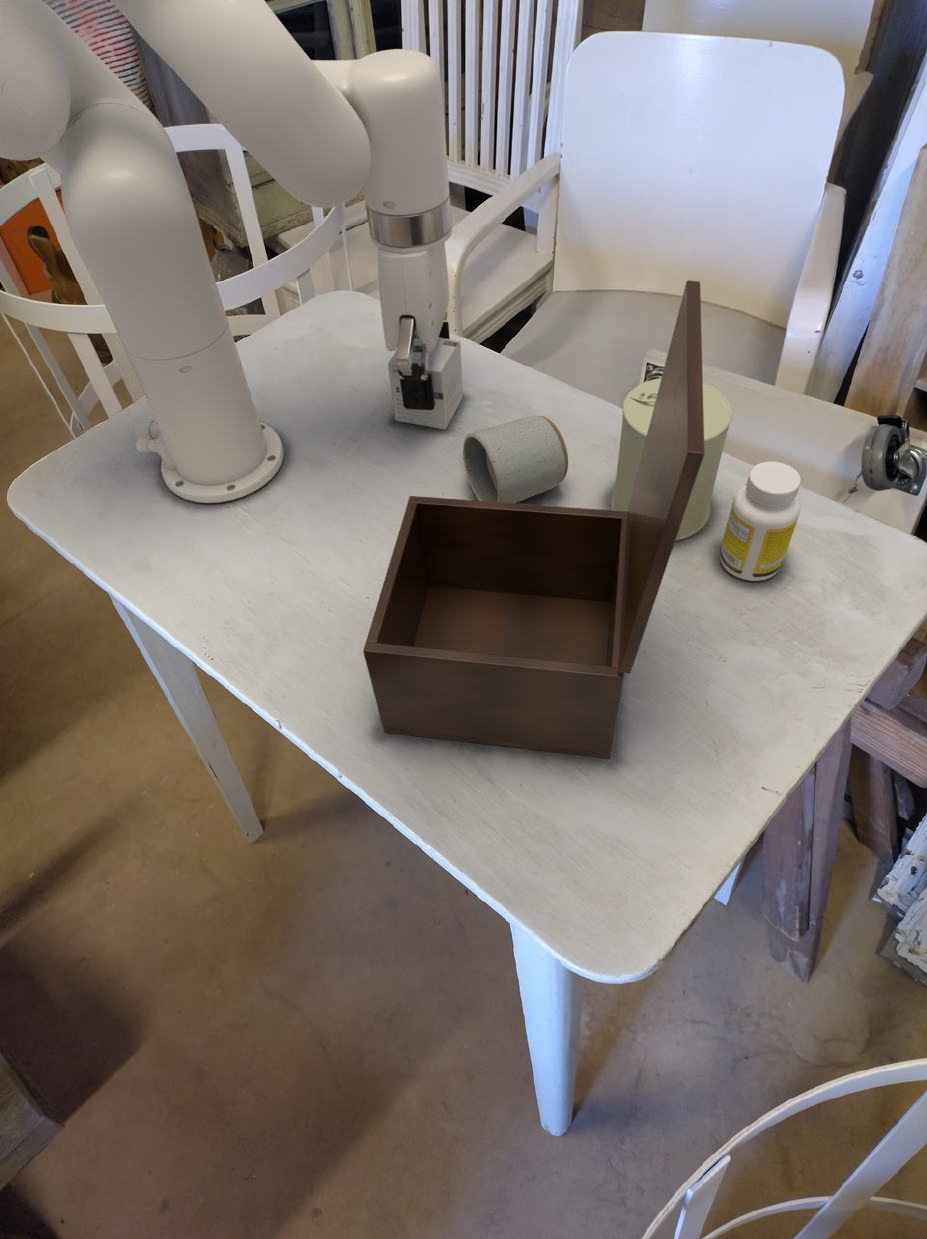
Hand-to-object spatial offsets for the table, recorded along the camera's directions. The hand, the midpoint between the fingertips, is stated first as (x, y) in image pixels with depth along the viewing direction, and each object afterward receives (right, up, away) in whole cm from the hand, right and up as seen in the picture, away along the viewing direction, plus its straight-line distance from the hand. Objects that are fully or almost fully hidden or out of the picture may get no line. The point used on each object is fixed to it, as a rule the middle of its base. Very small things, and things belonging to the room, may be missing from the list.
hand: (428, 380), depth 87 cm
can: (+23, -15, -9) cm, 28 cm away
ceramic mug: (+8, -12, -5) cm, 15 cm away
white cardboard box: (0, -2, +3) cm, 4 cm away
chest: (+7, -29, -19) cm, 36 cm away
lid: (+15, -17, -37) cm, 43 cm away
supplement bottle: (+29, -20, -13) cm, 38 cm away
